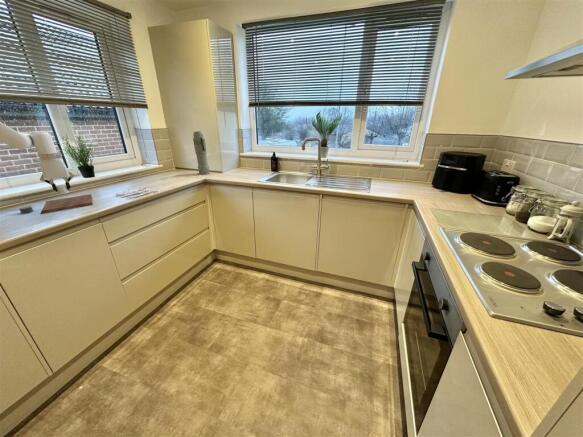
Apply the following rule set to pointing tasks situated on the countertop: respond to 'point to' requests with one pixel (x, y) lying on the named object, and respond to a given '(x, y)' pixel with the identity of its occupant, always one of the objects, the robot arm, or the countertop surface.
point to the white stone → (62, 189)
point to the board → (67, 203)
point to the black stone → (26, 210)
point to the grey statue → (201, 153)
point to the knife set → (136, 191)
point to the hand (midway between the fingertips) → (62, 190)
